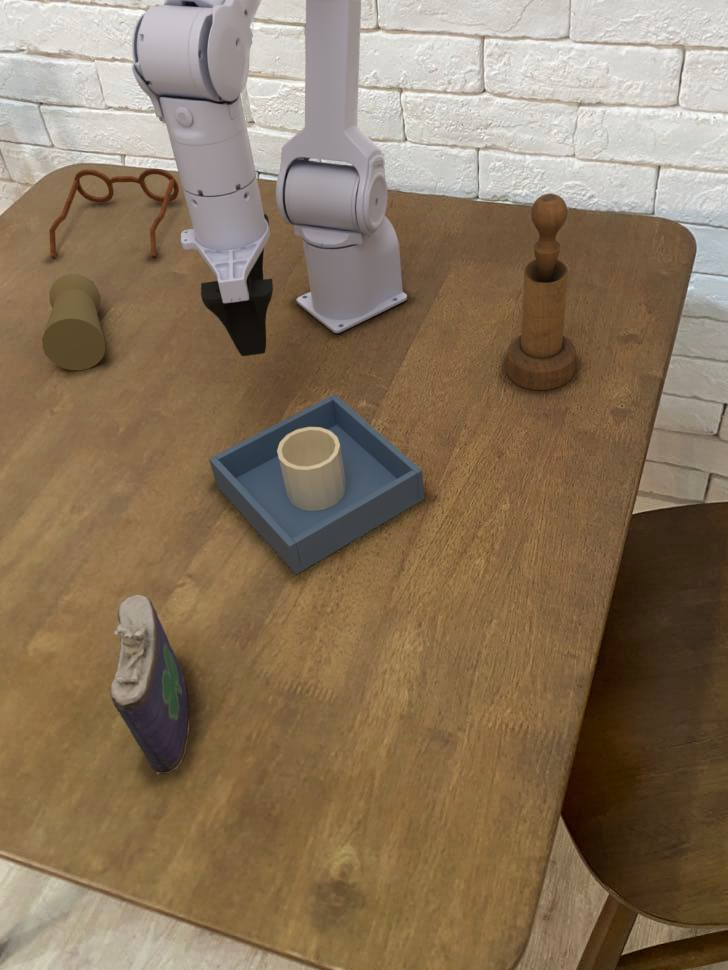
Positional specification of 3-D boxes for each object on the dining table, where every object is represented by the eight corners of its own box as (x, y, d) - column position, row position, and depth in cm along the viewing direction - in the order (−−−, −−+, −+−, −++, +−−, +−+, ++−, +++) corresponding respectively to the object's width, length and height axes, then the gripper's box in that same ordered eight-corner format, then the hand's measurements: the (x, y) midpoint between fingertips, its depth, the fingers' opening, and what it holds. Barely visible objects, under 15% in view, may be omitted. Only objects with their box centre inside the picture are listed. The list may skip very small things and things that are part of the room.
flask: (151, 667, 71) (109, 578, 63) (190, 661, 71) (153, 572, 63) (146, 778, 65) (99, 694, 57) (189, 771, 65) (147, 687, 57)
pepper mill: (74, 307, 91) (75, 254, 99) (28, 341, 93) (33, 286, 100) (118, 348, 96) (116, 294, 103) (74, 380, 97) (75, 325, 105)
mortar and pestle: (529, 399, 89) (537, 226, 75) (493, 363, 93) (495, 192, 79) (587, 375, 90) (605, 202, 77) (550, 341, 94) (561, 170, 81)
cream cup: (324, 460, 84) (317, 418, 80) (357, 492, 81) (351, 449, 78) (275, 487, 82) (265, 445, 79) (307, 520, 79) (299, 478, 76)
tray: (339, 422, 88) (334, 393, 86) (424, 499, 81) (422, 469, 78) (217, 487, 84) (208, 458, 81) (296, 574, 76) (289, 546, 74)
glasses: (184, 202, 118) (174, 164, 115) (156, 259, 110) (144, 220, 106) (84, 203, 120) (71, 166, 116) (49, 259, 111) (34, 221, 107)
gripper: (170, 141, 76) (207, 285, 87) (162, 234, 67) (205, 383, 77) (256, 130, 77) (283, 275, 87) (260, 221, 67) (290, 372, 77)
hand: (252, 325), depth 82 cm, fingers open, 7 cm apart
